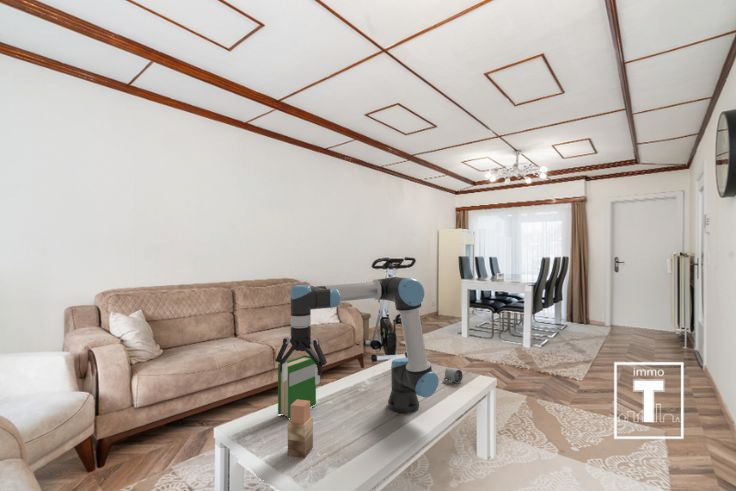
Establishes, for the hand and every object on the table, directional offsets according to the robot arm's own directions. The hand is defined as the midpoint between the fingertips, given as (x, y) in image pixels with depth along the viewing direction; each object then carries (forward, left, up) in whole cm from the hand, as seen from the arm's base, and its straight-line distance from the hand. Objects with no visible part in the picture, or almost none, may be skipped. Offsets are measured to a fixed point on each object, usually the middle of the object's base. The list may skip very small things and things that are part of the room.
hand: (301, 382), depth 137 cm
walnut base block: (0, 0, -26) cm, 26 cm away
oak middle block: (0, 0, -20) cm, 20 cm away
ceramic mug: (-53, -91, -27) cm, 108 cm away
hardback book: (+17, -32, -26) cm, 45 cm away
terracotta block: (0, 0, -14) cm, 14 cm away
